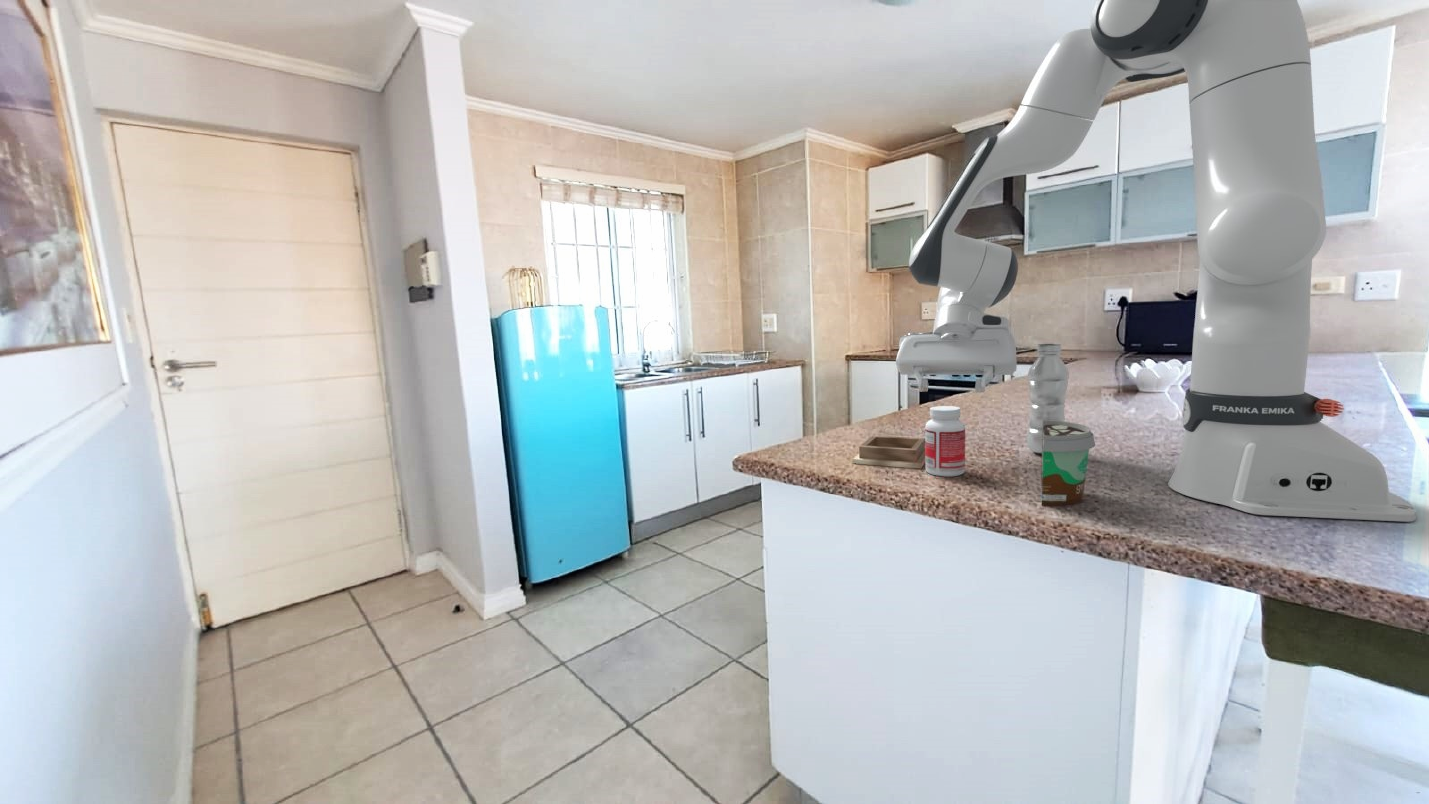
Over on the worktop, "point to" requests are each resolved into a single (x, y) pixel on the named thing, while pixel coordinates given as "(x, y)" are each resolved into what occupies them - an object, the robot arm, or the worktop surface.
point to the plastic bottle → (1046, 392)
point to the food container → (1064, 462)
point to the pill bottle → (945, 442)
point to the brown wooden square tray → (892, 452)
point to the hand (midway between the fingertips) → (950, 390)
